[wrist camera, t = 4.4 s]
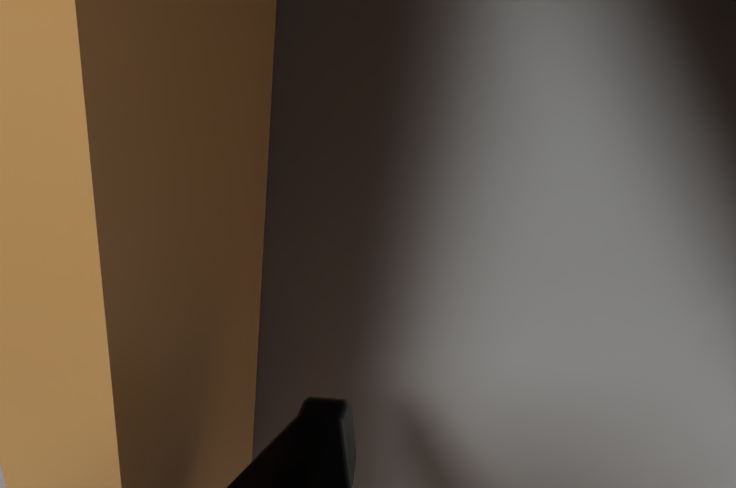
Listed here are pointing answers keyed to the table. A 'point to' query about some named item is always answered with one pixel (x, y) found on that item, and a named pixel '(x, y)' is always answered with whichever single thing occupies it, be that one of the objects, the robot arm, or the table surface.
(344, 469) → the robot arm
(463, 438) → the table surface
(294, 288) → the table surface
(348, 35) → the table surface
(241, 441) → the side door
